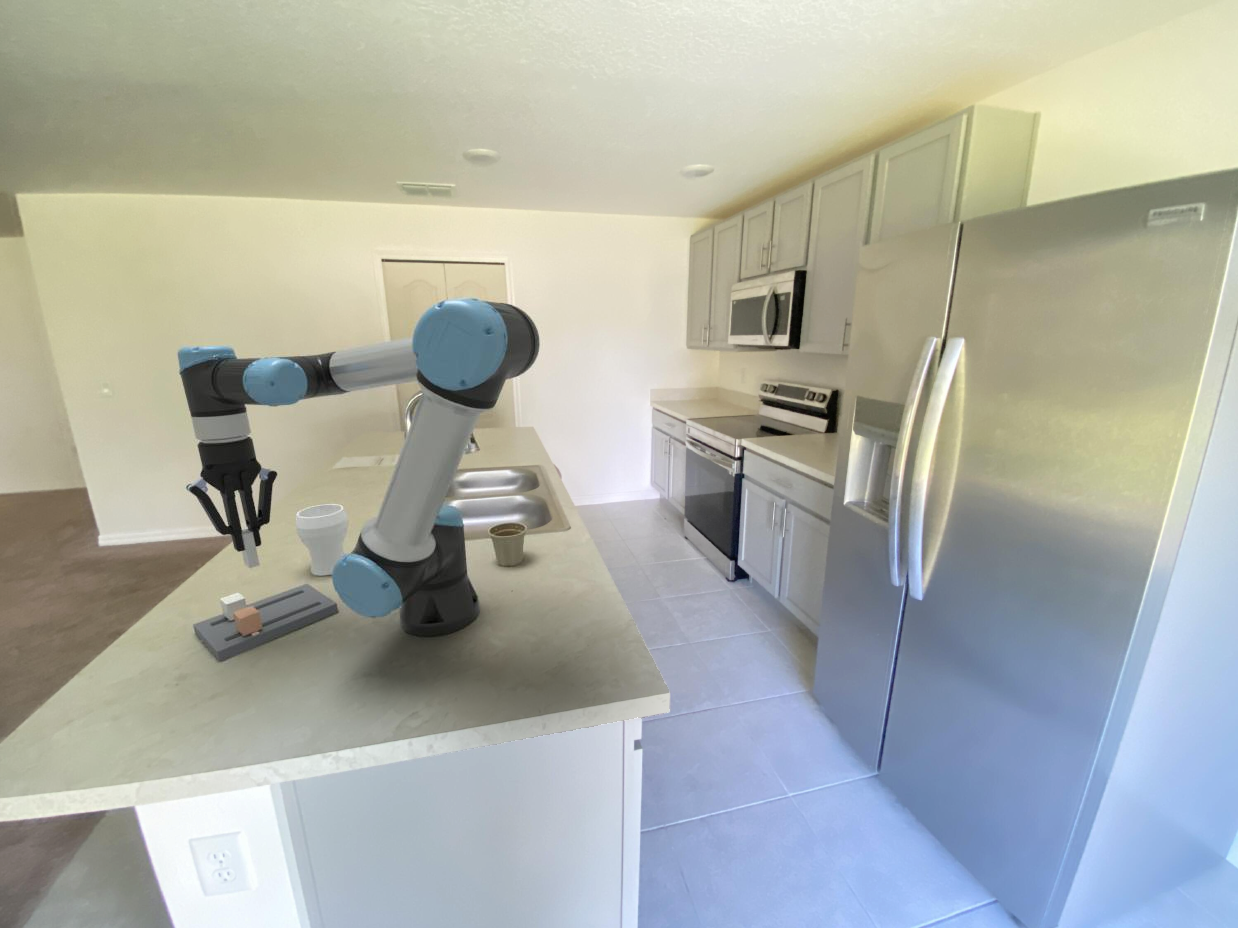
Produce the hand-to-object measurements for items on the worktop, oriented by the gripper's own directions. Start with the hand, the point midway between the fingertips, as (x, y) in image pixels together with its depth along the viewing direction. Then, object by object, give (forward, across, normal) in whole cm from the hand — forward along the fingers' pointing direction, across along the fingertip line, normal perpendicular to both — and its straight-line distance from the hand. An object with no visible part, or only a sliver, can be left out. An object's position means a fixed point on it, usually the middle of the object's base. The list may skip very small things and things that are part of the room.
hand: (252, 564), depth 91 cm
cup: (+15, -20, -19) cm, 31 cm away
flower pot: (+15, -49, +13) cm, 53 cm away
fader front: (+12, +2, 0) cm, 12 cm away
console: (+15, -2, -4) cm, 15 cm away
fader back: (+12, +2, -8) cm, 15 cm away
